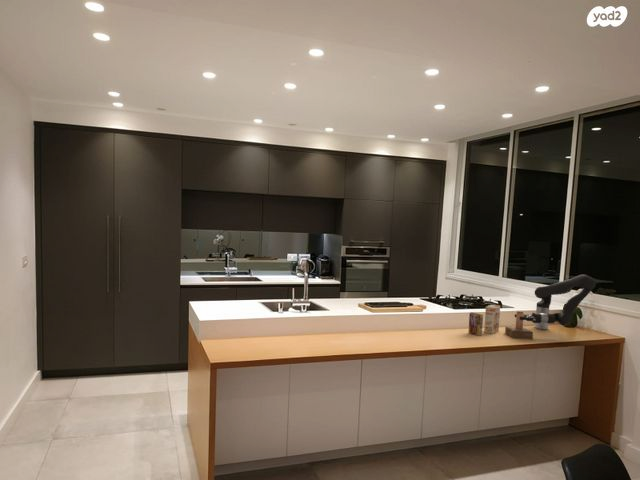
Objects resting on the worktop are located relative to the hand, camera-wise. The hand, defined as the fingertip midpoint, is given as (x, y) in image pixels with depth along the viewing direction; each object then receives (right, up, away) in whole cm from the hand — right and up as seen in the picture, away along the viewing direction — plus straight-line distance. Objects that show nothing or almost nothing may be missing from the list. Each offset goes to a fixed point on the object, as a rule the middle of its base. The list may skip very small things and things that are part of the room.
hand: (517, 317), depth 326 cm
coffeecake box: (-15, -13, +11) cm, 22 cm away
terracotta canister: (+1, -9, 0) cm, 9 cm away
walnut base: (+1, -14, 0) cm, 14 cm away
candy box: (-31, -13, 0) cm, 33 cm away
